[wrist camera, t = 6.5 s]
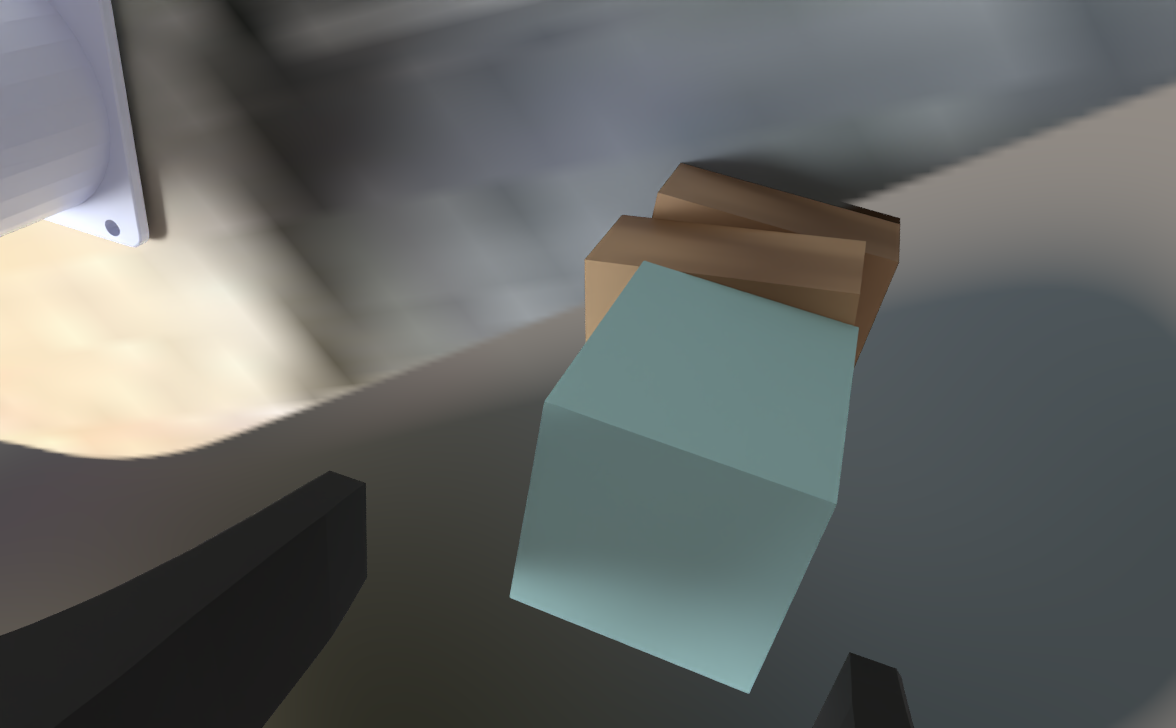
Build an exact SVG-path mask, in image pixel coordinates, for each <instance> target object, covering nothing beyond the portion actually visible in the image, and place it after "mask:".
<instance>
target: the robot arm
mask: <svg viewBox="0 0 1176 728" xmlns="http://www.w3.org/2000/svg"><path fill="white" fill-rule="evenodd" d="M43 219H44V220H48V221H51V222H54V223H57V224H60V225H63V226H66V227H70V228H73V229H76V230H79V231H82V232H85V233H89V234H92V235H95V236H98V237H101V238H104V239H108V240H111V241H114V242H117V243H120V244H123V245H126V246H130V247H137V246H139V245H141V244H143V243H145V242H147V241H148V239H149V228H148V222H147V216H146V210H145V204H144V198H143V192H142V186H141V180H140V174H139V168H138V161H137V155H136V149H135V143H134V137H133V131H132V125H131V119H130V113H129V107H128V101H127V95H126V89H125V83H124V77H123V71H122V65H121V59H120V52H119V46H118V40H117V34H116V28H115V22H114V16H113V10H112V4H111V0H0V237H2V236H4V235H6V234H9V233H11V232H14V231H16V230H19V229H21V228H23V227H26V226H28V225H31V224H33V223H36V222H38V221H40V220H43ZM117 225H118V226H117ZM366 546H367V544H366V483H364V482H361V481H358V480H355V479H352V478H349V477H346V476H344V475H341V474H338V473H335V472H332V471H328V472H326V473H325V474H323V475H321V476H319V477H317V478H315V479H314V480H312V481H310V482H308V483H307V484H305V485H303V486H301V487H300V488H298V489H296V490H294V491H293V492H291V493H289V494H288V495H286V496H284V497H282V498H281V499H279V500H277V501H275V502H274V503H272V504H270V505H269V506H267V507H265V508H263V509H262V510H260V511H258V512H256V513H255V514H253V515H251V516H250V517H248V518H246V519H244V520H243V521H241V522H239V523H237V524H235V525H234V526H232V527H230V528H228V529H226V530H225V531H223V532H221V533H219V534H217V535H216V536H214V537H212V538H210V539H208V540H206V541H205V542H203V543H201V544H199V545H197V546H196V547H194V548H192V549H190V550H188V551H186V552H185V553H183V554H181V555H179V556H177V557H175V558H173V559H171V560H169V561H167V562H165V563H163V564H161V565H159V566H157V567H155V568H153V569H151V570H149V571H147V572H145V573H143V574H141V575H139V576H137V577H135V578H133V579H131V580H129V581H127V582H125V583H123V584H121V585H119V586H117V587H115V588H113V589H111V590H109V591H106V592H104V593H102V594H100V595H98V596H96V597H94V598H91V599H89V600H87V601H85V602H82V603H80V604H78V605H76V606H73V607H71V608H69V609H66V610H64V611H62V612H59V613H57V614H54V615H52V616H50V617H47V618H45V619H43V620H40V621H38V622H35V623H33V624H30V625H28V626H26V627H23V628H20V629H18V630H15V631H13V632H9V633H7V634H4V635H1V636H0V728H262V727H263V726H264V724H265V723H266V722H267V721H268V719H269V718H270V717H271V715H272V714H273V713H274V712H275V710H276V709H277V708H278V706H279V705H280V704H281V703H282V701H283V700H284V699H285V697H286V696H287V695H288V693H289V692H290V691H291V689H292V688H293V687H294V686H295V684H296V683H297V682H298V681H299V679H300V678H301V677H302V675H303V674H304V673H305V671H306V670H307V669H308V667H309V666H310V665H311V663H312V662H313V661H314V659H315V658H316V657H317V656H318V654H319V653H320V652H321V650H322V649H323V648H324V646H325V645H326V644H327V642H328V641H329V639H330V638H331V637H332V635H333V634H334V632H335V630H336V629H337V627H338V626H339V624H340V622H341V621H342V619H343V617H344V616H345V614H346V613H347V611H348V609H349V608H350V606H351V604H352V602H353V601H354V599H355V597H356V595H357V594H358V592H359V590H360V588H361V587H362V585H363V583H364V581H365V580H366V578H367V547H366ZM812 728H914V726H913V722H912V719H911V714H910V711H909V707H908V703H907V699H906V695H905V691H904V687H903V683H902V678H901V676H900V674H899V673H898V671H897V669H896V668H893V667H890V666H887V665H884V664H881V663H878V662H876V661H873V660H870V659H867V658H864V657H861V656H859V655H856V654H853V653H849V654H848V657H847V659H846V661H845V663H844V665H843V667H842V669H841V671H840V673H839V675H838V677H837V679H836V681H835V683H834V685H833V687H832V689H831V691H830V693H829V695H828V697H827V699H826V701H825V703H824V705H823V707H822V709H821V711H820V713H819V715H818V717H817V719H816V721H815V723H814V725H813V727H812Z"/></svg>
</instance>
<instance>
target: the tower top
mask: <svg viewBox="0 0 1176 728" xmlns="http://www.w3.org/2000/svg"><path fill="white" fill-rule="evenodd" d="M865 247H866V241H859V240H850V239H840V238H831V237H822V236H813V235H803V234H794V233H785V232H776V231H766V230H757V229H748V228H739V227H729V226H720V225H711V224H702V223H692V222H683V221H674V220H665V219H656V218H646V217H637V216H628V215H622V216H621V217H620V218H619V219H618V220H617V222H616V223H615V224H614V225H613V226H612V228H611V229H610V230H609V231H608V232H607V234H606V235H605V236H604V237H603V238H602V240H601V241H600V242H599V243H598V244H597V246H596V247H595V248H594V249H593V250H592V251H591V253H590V254H589V255H588V256H587V257H586V259H585V320H586V321H585V323H586V324H585V325H586V326H585V327H586V342H587V340H588V339H589V338H590V336H591V335H592V333H593V332H594V330H595V329H596V328H597V326H598V325H599V323H600V322H601V320H602V319H603V318H604V316H605V315H606V313H607V312H608V311H609V309H610V308H611V306H612V305H613V303H614V302H615V301H616V299H617V298H618V296H619V295H620V294H621V292H622V291H623V289H624V288H625V286H626V285H627V284H628V282H629V281H630V279H631V278H632V277H633V275H634V274H635V272H636V271H637V269H638V268H639V267H640V265H641V264H642V262H643V261H647V262H650V263H653V264H657V265H660V266H663V267H666V268H669V269H673V270H676V271H679V272H682V273H686V274H689V275H692V276H695V277H698V278H702V279H705V280H708V281H711V282H714V283H718V284H721V285H724V286H727V287H731V288H734V289H737V290H740V291H743V292H747V293H750V294H753V295H756V296H759V297H763V298H766V299H769V300H772V301H776V302H779V303H782V304H785V305H788V306H792V307H795V308H798V309H801V310H804V311H808V312H811V313H814V314H817V315H821V316H824V317H827V318H830V319H833V320H837V321H840V322H843V323H846V324H849V325H853V326H854V325H855V320H856V314H857V308H858V302H859V297H860V289H861V281H862V272H863V264H864V255H865Z"/></svg>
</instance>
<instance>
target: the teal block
mask: <svg viewBox="0 0 1176 728" xmlns="http://www.w3.org/2000/svg"><path fill="white" fill-rule="evenodd" d="M858 331H859V327H856V326H853V325H849V324H846V323H843V322H840V321H837V320H833V319H830V318H827V317H824V316H821V315H817V314H814V313H811V312H808V311H804V310H801V309H798V308H795V307H792V306H788V305H785V304H782V303H779V302H776V301H772V300H769V299H766V298H763V297H759V296H756V295H753V294H750V293H747V292H743V291H740V290H737V289H734V288H731V287H727V286H724V285H721V284H718V283H714V282H711V281H708V280H705V279H702V278H698V277H695V276H692V275H689V274H686V273H682V272H679V271H676V270H673V269H669V268H666V267H663V266H660V265H657V264H653V263H650V262H647V261H643V262H642V264H641V265H640V267H639V268H638V269H637V271H636V272H635V274H634V275H633V277H632V278H631V279H630V281H629V282H628V284H627V285H626V286H625V288H624V289H623V291H622V292H621V294H620V295H619V296H618V298H617V299H616V301H615V302H614V303H613V305H612V306H611V308H610V309H609V311H608V312H607V313H606V315H605V316H604V318H603V319H602V320H601V322H600V323H599V325H598V326H597V328H596V329H595V330H594V332H593V333H592V335H591V336H590V338H589V339H588V340H587V342H586V343H585V345H584V346H583V347H582V349H581V350H580V352H579V353H578V355H577V356H576V357H575V359H574V360H573V362H572V363H571V364H570V366H569V367H568V369H567V370H566V372H565V373H564V374H563V376H562V377H561V379H560V380H559V382H558V383H557V384H556V386H555V387H554V389H553V390H552V392H551V393H550V394H549V396H548V397H547V399H546V400H545V402H544V408H543V413H542V418H541V425H540V430H539V436H538V441H537V447H536V453H535V458H534V464H533V469H532V475H531V481H530V486H529V492H528V497H527V503H526V509H525V514H524V519H523V525H522V531H521V537H520V542H519V548H518V553H517V559H516V564H515V570H514V576H513V581H512V587H511V592H510V598H512V599H515V600H517V601H520V602H522V603H525V604H527V605H529V606H532V607H534V608H537V609H540V610H542V611H545V612H547V613H549V614H552V615H555V616H557V617H559V618H562V619H564V620H567V621H570V622H572V623H574V624H577V625H579V626H582V627H584V628H587V629H589V630H592V631H594V632H597V633H599V634H602V635H604V636H607V637H609V638H612V639H614V640H617V641H619V642H621V643H624V644H627V645H629V646H631V647H634V648H636V649H639V650H641V651H644V652H646V653H649V654H651V655H654V656H656V657H659V658H662V659H664V660H666V661H669V662H671V663H674V664H676V665H679V666H681V667H684V668H686V669H689V670H691V671H694V672H696V673H699V674H701V675H704V676H706V677H709V678H711V679H714V680H716V681H718V682H721V683H724V684H726V685H729V686H731V687H733V688H736V689H739V690H741V691H744V692H746V693H749V692H750V690H751V688H752V686H753V684H754V681H755V679H756V677H757V675H758V673H759V671H760V669H761V667H762V664H763V662H764V660H765V658H766V656H767V654H768V651H769V649H770V647H771V645H772V643H773V641H774V638H775V636H776V634H777V632H778V630H779V628H780V626H781V623H782V621H783V619H784V617H785V615H786V613H787V610H788V608H789V606H790V604H791V602H792V600H793V598H794V595H795V593H796V591H797V589H798V587H799V584H800V582H801V580H802V578H803V576H804V574H805V572H806V569H807V567H808V565H809V563H810V560H811V559H812V557H813V554H814V552H815V550H816V548H817V546H818V543H819V541H820V539H821V537H822V535H823V533H824V531H825V528H826V526H827V524H828V522H829V520H830V518H831V516H832V513H833V511H834V509H835V507H836V505H837V498H838V490H839V482H840V475H841V467H842V459H843V450H844V443H845V435H846V427H847V419H848V418H847V417H848V410H849V402H850V395H851V387H852V379H853V371H854V363H855V355H856V347H857V339H858Z"/></svg>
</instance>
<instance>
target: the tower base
mask: <svg viewBox="0 0 1176 728" xmlns="http://www.w3.org/2000/svg"><path fill="white" fill-rule="evenodd" d="M652 218H656V219H665V220H674V221H683V222H692V223H702V224H711V225H720V226H729V227H739V228H748V229H757V230H766V231H776V232H785V233H794V234H803V235H813V236H822V237H831V238H840V239H850V240H859V241H866V247H865V255H864V264H863V272H862V281H861V289H860V297H859V302H858V308H857V314H856V320H855V325H854V326H856V327H859V331H858V339H857V347H856V355H855V363H854V367H855V365H856V362H857V360H858V357H859V355H860V353H861V351H862V348H863V346H864V344H865V341H866V338H867V336H868V334H869V332H870V329H871V327H872V325H873V322H874V320H875V318H876V315H877V313H878V311H879V308H880V306H881V303H882V301H883V298H884V296H885V294H886V292H887V289H888V287H889V284H890V282H891V280H892V277H893V275H894V273H895V270H896V268H897V266H898V263H899V245H900V218H898V217H894V216H891V215H887V214H884V213H880V212H876V211H873V210H869V209H866V208H862V207H859V206H855V205H850V206H847V207H844V208H840V207H837V206H833V205H829V204H826V203H822V202H819V201H815V200H812V199H808V198H804V197H801V196H797V195H794V194H790V193H787V192H783V191H779V190H776V189H772V188H769V187H765V186H762V185H758V184H754V183H751V182H747V181H744V180H740V179H737V178H733V177H729V176H726V175H722V174H719V173H715V172H712V171H708V170H704V169H701V168H697V167H694V166H690V165H687V164H683V163H680V164H679V166H678V167H677V168H676V170H675V171H674V172H673V174H672V175H671V176H670V177H669V179H668V180H667V181H666V183H665V184H664V185H663V186H662V188H661V189H660V190H659V192H658V194H657V198H656V203H655V207H654V211H653V216H652Z"/></svg>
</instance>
